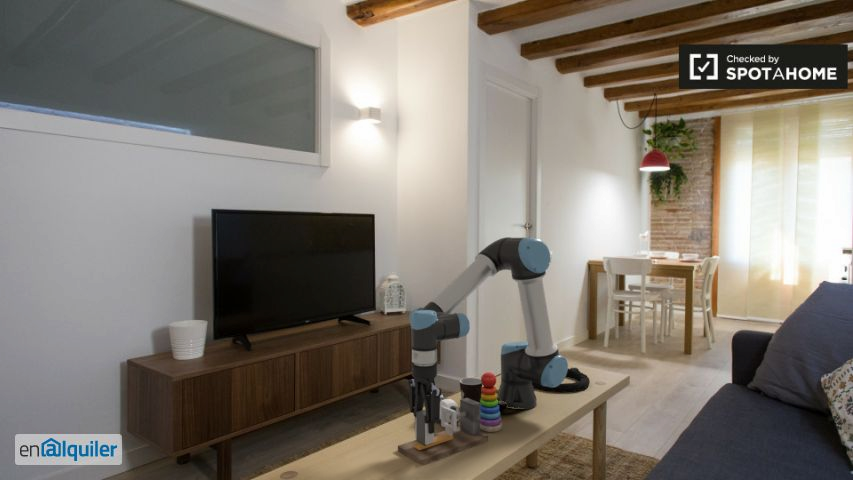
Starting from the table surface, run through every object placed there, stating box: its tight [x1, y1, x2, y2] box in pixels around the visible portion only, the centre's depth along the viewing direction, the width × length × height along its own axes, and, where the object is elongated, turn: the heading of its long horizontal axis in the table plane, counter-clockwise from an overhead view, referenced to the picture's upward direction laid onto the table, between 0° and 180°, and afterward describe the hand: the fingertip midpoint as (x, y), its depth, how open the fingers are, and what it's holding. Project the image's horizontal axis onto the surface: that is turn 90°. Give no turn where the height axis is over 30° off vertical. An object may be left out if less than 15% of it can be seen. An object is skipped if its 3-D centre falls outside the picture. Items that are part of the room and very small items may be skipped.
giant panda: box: [435, 392, 460, 429], centre depth 176 cm, size 15×6×10 cm, turn 27°
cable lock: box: [532, 367, 591, 393], centre depth 221 cm, size 28×4×30 cm
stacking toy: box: [480, 371, 503, 433], centre depth 170 cm, size 8×8×19 cm
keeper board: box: [397, 398, 489, 466], centre depth 157 cm, size 26×12×12 cm, turn 128°
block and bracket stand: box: [414, 406, 457, 450], centre depth 154 cm, size 13×6×10 cm, turn 128°
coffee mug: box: [459, 377, 483, 404], centre depth 188 cm, size 12×9×10 cm
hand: (424, 440), depth 152 cm, fingers closed on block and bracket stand, 4 cm apart
